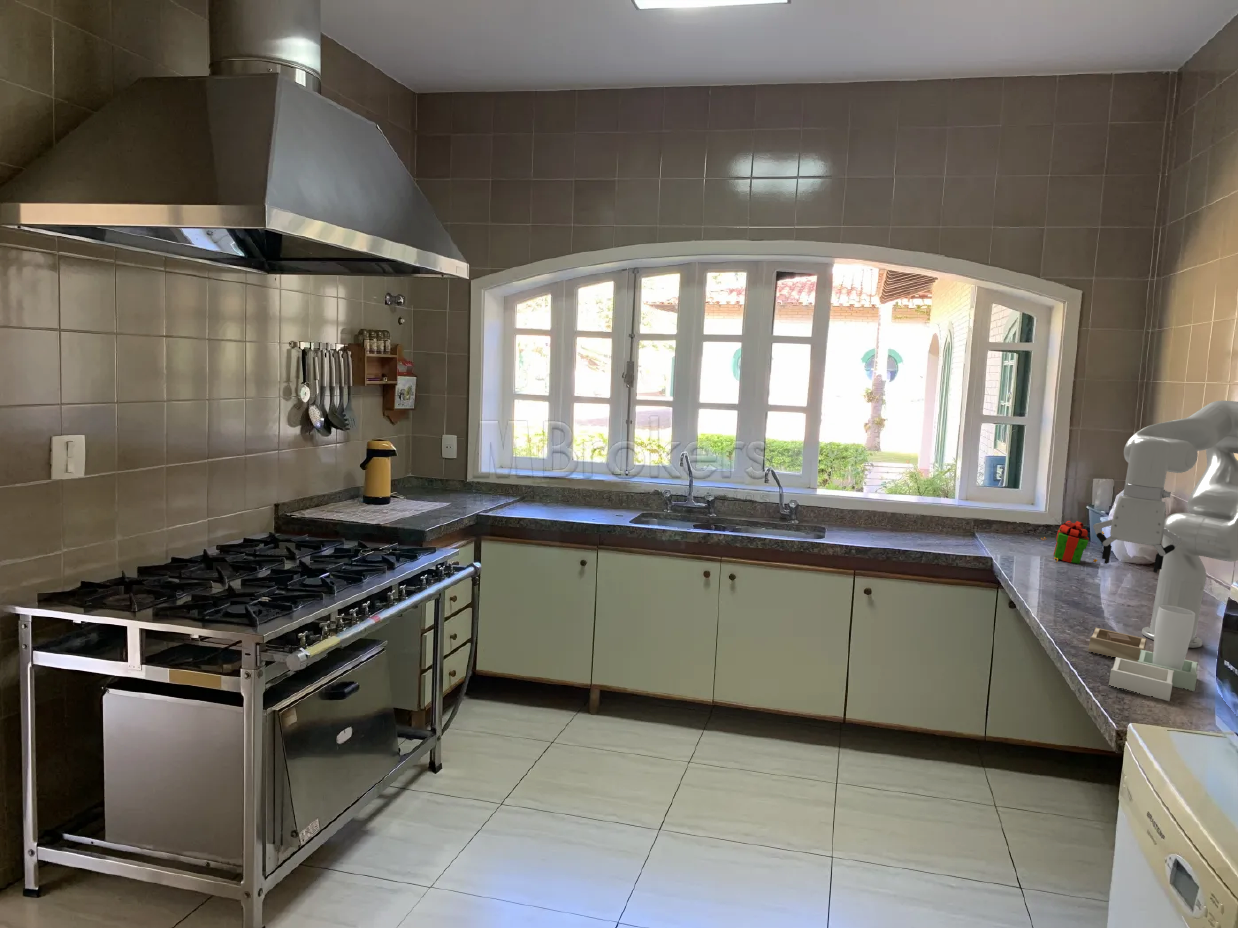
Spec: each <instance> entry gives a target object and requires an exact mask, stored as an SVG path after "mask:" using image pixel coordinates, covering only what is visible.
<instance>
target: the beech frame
mask: <svg viewBox="0 0 1238 928" xmlns="http://www.w3.org/2000/svg"><path fill="white" fill-rule="evenodd" d="M1107 633H1114V634H1120V635H1126V636H1128V638H1129V639H1130V640H1131V643H1130V645H1126V644H1122V643H1118V642H1113V641H1109V640H1106V639H1107ZM1147 641H1148V640H1147V638H1145V637H1141V636H1140V637H1139V636H1136V635H1132V634H1127V633H1122V632H1118V631H1113V630H1109V629H1105V628H1104V629H1103V628H1099V627H1095V628H1094V631H1093V634H1092V636H1090V637H1089V645H1088V651H1091V652H1094V653H1093V654H1095V653H1099V654H1103V655H1107V656H1106V657H1108V656H1111V657H1110V658H1112V657H1118V658H1122V659H1126V660H1130V661H1135V662H1138V660H1139V656H1140V650H1145V651H1146V646H1147ZM1088 651H1087V652H1088ZM1091 652H1090V653H1091ZM1099 654H1098V655H1099ZM1103 655H1102V656H1103Z"/></svg>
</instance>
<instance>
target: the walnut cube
mask: <svg viewBox="0 0 1238 928" xmlns="http://www.w3.org/2000/svg"><path fill="white" fill-rule="evenodd" d="M1106 640H1109V641H1113V642H1118V643H1122V644H1126V645H1130V643H1131V640H1130V639H1129V638H1128V636H1126V635H1120V634H1114V633H1107V639H1106Z"/></svg>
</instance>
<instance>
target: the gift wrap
mask: <svg viewBox="0 0 1238 928" xmlns="http://www.w3.org/2000/svg"><path fill="white" fill-rule="evenodd" d="M1083 527H1084V523H1083V522H1081V521H1078V520H1076V521H1075V522H1072V521H1071V520H1067V521H1066V522H1063V523H1062V524H1060V526H1059V528H1058V530H1057V534H1056V540H1055V541H1056V543H1055V547H1054V550H1053V557H1054V558H1053V560H1055V559H1056V561H1055V563H1057V562H1058V561H1059V560H1061V561H1062V562H1067V563H1070V564H1071V563H1074V564H1077V565H1079V564H1080V563H1081V559H1082V556H1083V554H1084V551H1085V550H1086V549H1087V547H1088V543H1089V539H1090V538H1089V537H1088V534H1089V533H1088V530H1087V529H1085V528H1083ZM1102 533H1103V534H1104V535H1105V532H1104V530H1102ZM1040 539H1041V540H1042V541H1044V540H1048V539H1047V538H1046V537H1045V536H1044V537H1043V538H1042V537H1041V538H1040ZM1096 562H1098V559H1097V558H1095V559H1093V561H1092V563H1096Z"/></svg>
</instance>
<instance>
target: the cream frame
mask: <svg viewBox="0 0 1238 928" xmlns="http://www.w3.org/2000/svg"><path fill="white" fill-rule="evenodd" d="M1173 675H1174V671H1173V670H1169V669H1164V668H1160V667H1156V666H1152V665H1147V664H1143V663H1139V662H1135V661H1130V660H1126V659H1122V658H1118V657H1116V658H1114V663H1113V667H1112V668H1111V669H1110V675H1109V680H1108V686H1109V685H1111V686H1114V687H1113V688H1115V687H1117V688H1116V689H1119V688H1124V689H1127V690H1131V691H1134V692H1133V693H1135V692H1137V693H1136V694H1139V693H1140V695H1142V696H1143V695H1144V696H1147V697H1151V696H1153V697H1152V698H1155V699H1159V700H1163V701H1167V702H1170V700H1171V695H1172V689H1173V686H1172V684H1173V683H1172V681H1173ZM1111 686H1110V687H1111ZM1127 690H1126V691H1127ZM1131 691H1130V692H1131Z"/></svg>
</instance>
